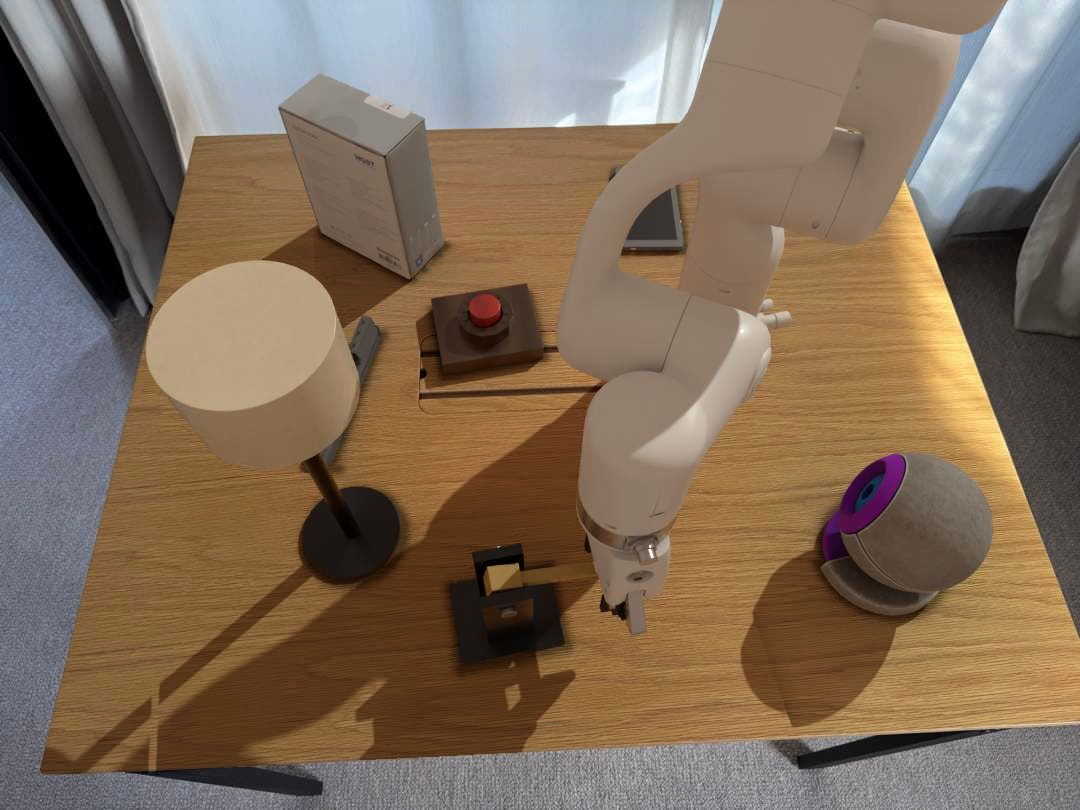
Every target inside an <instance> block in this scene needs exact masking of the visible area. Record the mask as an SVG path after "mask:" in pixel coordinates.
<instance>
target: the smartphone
mask: <svg viewBox="0 0 1080 810" xmlns="http://www.w3.org/2000/svg"><path fill="white" fill-rule="evenodd" d="M623 167H624V166H617V167H615V171H614V176H615V175H616V174H617V173H618V172H619V171H620V170H621V168H623ZM676 186H677V185H676ZM676 186H674V187H672V188H670V189H668V190H667V191H665V192H663V193H662V194H660V195H659V196H658V197H656V198H655V199H654V200H652V201H651V202H650V203H649V204H648V205H647V206H646V207H645V208H644V209H643V211H642V212H641V213H640V214H639V216H638V217H637V218H636V220H635V221H634V223H633V225H632V227H631V229H630V231H629V233H628V235H627V237H626V240H625V242H624V245H623V248H622V251H682V250H683V248H684V245H685V244H684V235H683V227H682V220H681V214H680V208H679V207H680V206H679V200H678V192H677V187H676Z"/></svg>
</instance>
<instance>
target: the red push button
mask: <svg viewBox="0 0 1080 810" xmlns="http://www.w3.org/2000/svg"><path fill="white" fill-rule="evenodd" d="M469 311H470V318H471V320H472V322H473V323H474V324H475V325H477V326H479V327H491V326H493V325H495V324H496V323H497V322H498V321H499V319H500V316H501V312H500V303H499V301H498V300H497V299H496V298H495V297H494V296H492V295H488V294H482V295H478V296H476V297H475V298H473V299H472V301H471V302H470V305H469Z"/></svg>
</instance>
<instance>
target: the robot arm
mask: <svg viewBox="0 0 1080 810" xmlns="http://www.w3.org/2000/svg"><path fill="white" fill-rule="evenodd" d="M1008 1H1009V0H723V1H722V2H721V3H722V4H721V7H720V10H719V13H718V15H717V16H718V17H717V21H716V23H715V27H714V29H713V32H712V36H711V39H710V41H709V42H710V43H709V46H708V49H707V52H706V56H705V58H704V61H703V64H702V68H701V70H700V75H699V77H698V81H697V84H696V87H695V91H694V94H693V97H692V99H691V103H690V105H689V108H688V110H687V112H686V114H685V115H684V116H683V118H682V119H681V120H680V121H679V123H678V124H677V125H675V126H674V127H673V128H672V129H671V130H669V131H668V132H667V133H665V134H663V135H662V136H661V137H659V138H658V139H656V140H655V141H653V142H651V143H650V144H649V145H648V146H646V147H645V148H644V149H642V150H641V151H640V152H638V153H637V154H636V155H635V156H633V157H632V158H631V159H630V160H629V161H628V162H627V163H626V164H625V165H624V166H622V167H623V168H621V170H620V171H619V172H618V173H617V174H616V175H615V174H614V176H613V177H612V178H611V179H610V180H609V182H608V183H607V185H606V186H605V187H604V189H603V190H602V192H601V193H600V194H599V195H598V198H597V199H596V201H595V203H594V204H593V206H592V208H591V210H590V211H589V214H588V216H587V218H586V219H585V220H586V221H585V222H584V224H583V227H582V229H581V232H580V235H579V238H578V241H577V244H576V247H575V250H574V255H573V259H572V262H571V266H570V270H569V273H568V277H567V280H566V283H565V287H564V290H563V293H562V298H561V302H560V305H559V309H558V315H557V319H556V327H555V340H556V341H555V342H556V346H557V350H558V352H559V355H560V356H561V358H562V360H563V361H564V362H565V363H566V364H568V366H570V367H571V368H573V369H575V370H576V371H578V372H580V373H583V374H585V375H587V376H590V377H592V378H595V379H598V380H601V381H603V382H606V383H605V384H603V386H602V387H601V388H599V390H597V392H596V393H595V394H594V396H593V398H592V399H591V400H590V403H589V405H588V406H587V410H586V414H585V419H584V425H583V432H582V433H583V434H582V441H581V442H582V443H581V451H580V460H579V461H580V462H579V471H578V480H577V488H576V497H575V508H576V514H577V518H578V521H579V523H580V524H581V525H580V526H581V527H582V529H583V530H584V531H585V537H584V542H583V543H584V544H583V548H584V551H585V552H586V553H587V554H591V555H592V559H593V562H594V563H595V566H596V570H597V573H598V576H597V577H598V579H599V580H598V581H599V584H600V588H601V592H602V595H601V598H600V602H599V611H600V613H602V614H603V613H609V612H611V616H613V617H614V616H617V617H618V618H619V619H620V620H621V621H622V622H623V621H625V625H626V627H627V630H628V632H629V634H630V636H631V637H634V636H639V635H642V634H643V635H644V634H646V633H647V624H646V616H645V615H646V614H645V605H644V604H645V603H644V598H645V599H646V600H648V601H650V600H654V599H657V598H659V597H660V596H661V595H662V593H663V592H664V589H665V585H666V581H667V578H668V576H669V569H670V564H671V563H670V562H671V540H670V533H671V531H672V529H673V528H674V525H675V523H676V521H677V518H678V515H679V514H680V510H681V508H682V506H683V505H684V501H685V499H686V497H687V494H688V491H689V489H690V487H691V484H692V482H693V479H694V477H695V475H696V471H697V469H698V467H699V466H700V465H701V463H702V461H703V460H704V458H705V457H706V455H708V452H709V450H710V449H711V448H712V446H713V444H714V443H715V442H716V440H717V439H718V437H719V436H720V435H721V433H722V432H723V430H724V429H725V427H726V426H727V425H728V423H729V422H730V420H731V419H732V418H733V416H734V415H735V414H736V412H737V411H738V409H739V408H740V406H741V405H743V404H745V403H747V402H748V401H749V400H750V399H751V398H752V397H753V396H754V394H755V391H757V390H758V388H759V386H760V385H761V383H762V381H763V379H764V378H765V377H764V376H765V375H766V372H767V370H768V368H769V364H770V361H771V358H772V348H771V343H772V342H771V341H772V340H771V334H770V330H773V329H774V330H778V329H782V328H783V329H784V328H789V327H791V325H792V315H791V313H790V312H789V310H784V311H778V312H772V313H771V314H764V313H763V312H767V311H772V310H773V309H774V302H773V299H772V298H766V296H767V294H768V292H769V289H770V286H771V284H772V282H773V279H774V276H775V274H776V272H777V269H778V267H779V264H780V262H781V259H782V256H783V254H784V249H785V242H786V241H785V240H786V238H785V230H786V231H787V230H788V231H790V232H793V233H798V234H801V235H803V236H808V237H810V238H814V239H817V240H821V241H825V242H828V243H831V244H836V245H841V246H847V247H848V246H857V245H858V246H859V245H861V244H863V243H866V242H867V241H868V240H869V239H870V238H871V237H873V236H874V235H875V234H876V233H877V231H878V230H879V229H880V227H881V226H882V224H883V222H884V221H885V219H886V218H887V216H888V215H889V212H890V210H891V208H892V206H893V204H894V202H895V201H896V198H897V196H898V194H899V192H900V190H901V188H902V186H903V184H904V183H905V180H906V178H907V176H908V174H909V172H910V170H911V168H912V166H913V163H914V161H915V159H916V157H917V156H918V154H919V151H920V149H921V147H922V146H923V144H924V141H925V139H926V138H927V135H928V133H929V131H930V129H931V127H932V125H933V123H934V121H935V120H936V117H937V115H938V113H939V111H940V109H941V107H942V105H943V102H944V101H945V98H946V96H947V94H948V91H949V89H950V86H951V85H952V81H953V79H954V76H955V73H956V70H957V66H958V63H959V60H960V54H961V46H962V36H966V35H969V34H973V33H974V32H977V31H978V30H981V29H982V28H984V27H986V26H987V25H988V24H989V23H990V22H991V21H993V20H994V18H996V16H997V15H998V14H999V13H1000V11H1002V9H1003V8H1004V7H1005V6H1006V4H1007V3H1008ZM837 124H838V125H842V126H845V127H849V128H852V129H856V130H858V131H859V132H857V131H855V130H850V129H847V128H843V127H839V126H837ZM696 179H698V181H697V183H698V185H697V200H696V207H695V213H694V218H693V223H692V228H691V231H690V235H689V239H688V244H687V249H686V252H685V256H684V260H683V264H682V268H681V272H680V276H679V279H678V285H677V288H676V287H672V286H670V285H667V284H664V283H660V282H658V281H654V280H652V279H648V278H645V277H643V276H640V275H637V274H634V273H631V272H627V271H624V270H622V269H620V268H619V264H620V258H621V254H622V251H623V249H622V248H623V245H624V242H625V240H626V237H627V235H628V233H629V231H630V229H631V227H632V225H633V223H634V221H635V220H636V218H637V217H638V216H639V214H640V213H641V212H642V211H643V209H644V208H645V207H646V206H647V205H648V204H649V203H650V202H651V201H652V200H654V199H655V198H656V197H658V196H659V195H660V194H662V193H663V192H665V191H667V190H668V189H670V188H672V187H674V186H678V185H681V184H683V183H687V182H689V181H693V180H696Z"/></svg>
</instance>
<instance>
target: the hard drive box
mask: <svg viewBox="0 0 1080 810" xmlns="http://www.w3.org/2000/svg"><path fill="white" fill-rule="evenodd" d="M277 108H278V109H277V110H278V112H279V115H280V117H281V121H282V124H283V127H284V129H285V132H286V135H287V138H288V141H289V144H290V147H291V151H292V154H293V155H294V158H295V161H296V164H297V168H298V170H299V173H300V176H301V179H302V182H303V186H304V187H305V191H306V194H307V196H308V200H309V202H310V206H311V208H312V211H313V214H314V218H315V219H316V223H317V226H318V228H319V231H320V233H321V234H323V235H325V236H327V237H328V238H330V239H331V240H333V241H335V242H337V243H339V244H341V245H342V246H344V247H347V248H349V249H351V250H352V251H355V252H357V253H358V254H360V255H362V256H363V257H366V258H368V259H369V260H372V261H373V262H375V263H377V264H379V265H381V266H382V267H384V268H386V269H387V270H389V271H391V272H394V273H395V274H397V275H399V276H402V277H403V278H405V279H407V280H411V279H413V278H414V277H415V276H416V275H417V274H418V273H419V272H420V271H421V270H422V269H423V268H424V267H425V266H426V264H427V263H428V262H429V261H430V260H431V259H432V258H433V257H434V256H435V255H436V254H437V253H438V252H439V251H440V249H441V248H442V247H443V246H444V245H445V242H444V235H443V229H442V223H441V217H440V216H441V215H440V210H439V204H438V203H439V202H438V198H437V197H438V196H437V191H436V184H435V178H434V172H433V166H432V159H431V152H430V146H429V140H428V133H427V126H426V117H424V116H423V115H419V114H417V113H415V112H413V111H411V110H408V109H406V108H403V107H402V106H399V105H397V104H394V103H392V102H389V101H387V100H386V99H382V98H380V97H378V96H376V95H373V94H371V93H369V92H366V91H364V90H362V89H359V88H357V87H355V86H352V85H350V84H348V83H345V82H343V81H340V80H338V79H336V78H334V77H331V76H329V75H328V74H327V75H326V74H325V73H322V72H319V73H318V74H316V75H315V76H314V77H313V78H311V79H310V80H309V81H308V82H306V83H305V84H304V85H302V87H300V88H299V89H298V90H297V91H295V92H294V93H292V94H291V95H290V96H289V97H288V98H286V99H285V100H284V101H283V102H281V103H280V104H279V105H278V106H277Z"/></svg>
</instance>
